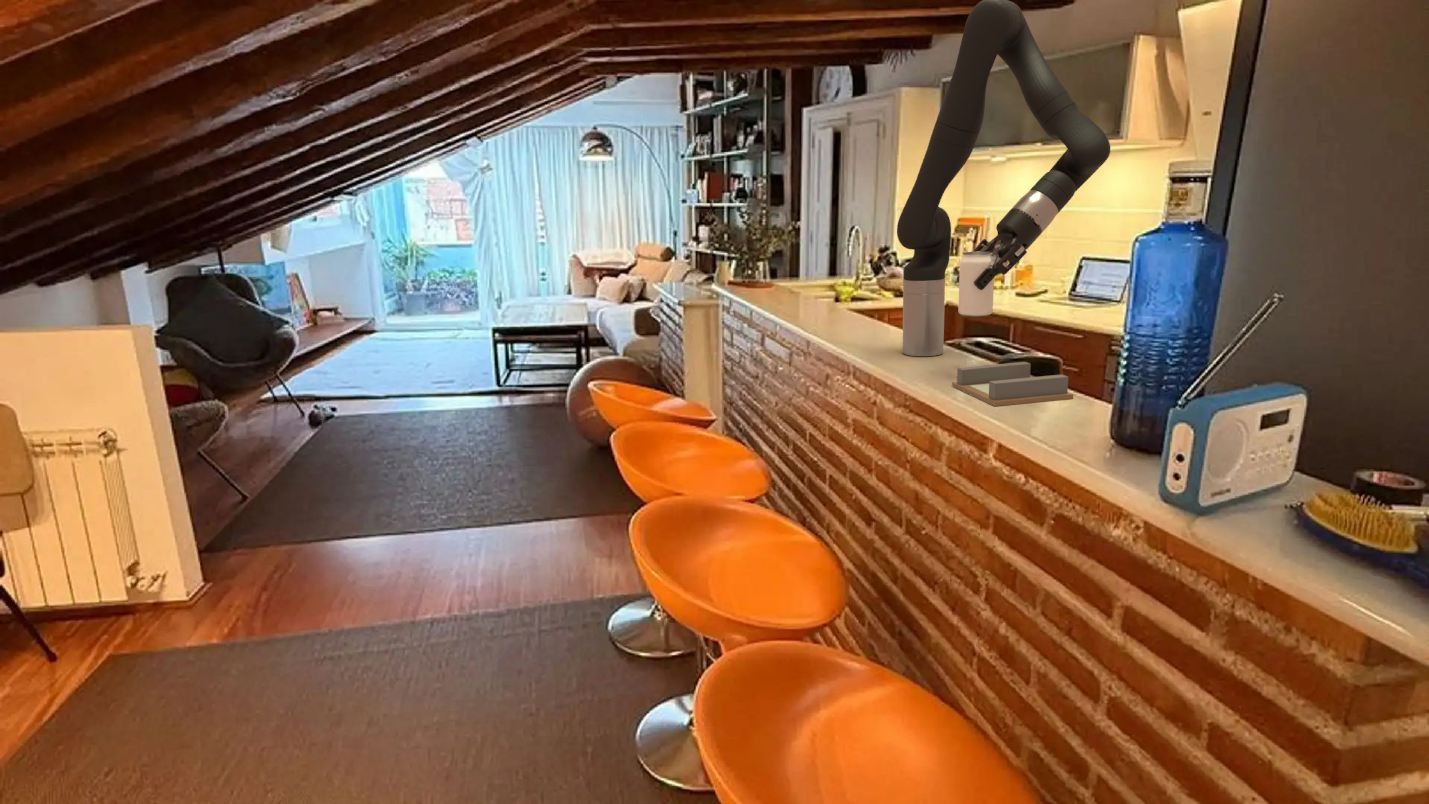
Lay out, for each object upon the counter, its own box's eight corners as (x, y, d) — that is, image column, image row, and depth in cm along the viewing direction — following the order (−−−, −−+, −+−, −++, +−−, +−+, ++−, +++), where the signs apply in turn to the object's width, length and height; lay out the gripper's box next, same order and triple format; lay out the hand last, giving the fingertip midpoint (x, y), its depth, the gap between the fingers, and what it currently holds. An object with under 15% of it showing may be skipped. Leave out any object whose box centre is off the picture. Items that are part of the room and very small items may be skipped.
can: (988, 311, 160) (990, 250, 157) (996, 316, 154) (998, 253, 151) (955, 312, 161) (957, 252, 158) (961, 317, 155) (963, 254, 151)
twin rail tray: (952, 386, 153) (952, 367, 152) (1023, 379, 156) (1024, 360, 155) (994, 406, 138) (995, 385, 137) (1073, 398, 140) (1074, 377, 140)
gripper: (996, 206, 160) (939, 269, 161) (1036, 207, 146) (974, 275, 148) (1018, 231, 162) (963, 293, 163) (1060, 234, 149) (999, 302, 150)
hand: (968, 284), depth 155 cm, fingers closed on can, 6 cm apart
